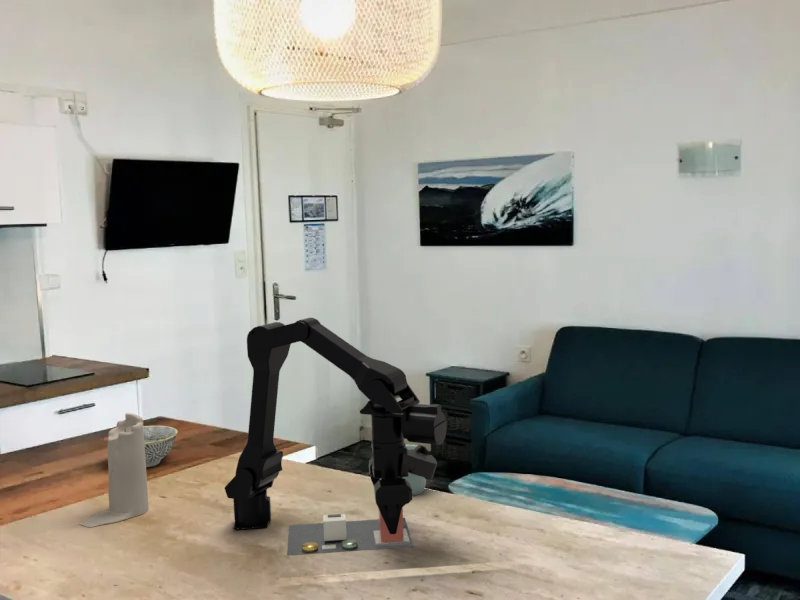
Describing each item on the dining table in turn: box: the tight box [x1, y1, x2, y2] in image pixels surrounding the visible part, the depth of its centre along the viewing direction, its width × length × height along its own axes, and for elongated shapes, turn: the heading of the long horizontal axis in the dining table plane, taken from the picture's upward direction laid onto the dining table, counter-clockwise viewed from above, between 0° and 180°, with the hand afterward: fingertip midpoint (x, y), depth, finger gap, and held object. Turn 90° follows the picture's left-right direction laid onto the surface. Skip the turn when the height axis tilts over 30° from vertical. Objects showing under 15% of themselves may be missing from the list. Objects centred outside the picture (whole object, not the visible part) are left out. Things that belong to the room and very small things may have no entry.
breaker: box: [322, 513, 347, 541], centre depth 150 cm, size 4×3×4 cm
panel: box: [286, 517, 414, 557], centre depth 152 cm, size 22×14×2 cm, turn 96°
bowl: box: [143, 425, 178, 468], centre depth 204 cm, size 16×16×8 cm
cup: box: [402, 444, 427, 496], centre depth 175 cm, size 8×8×10 cm
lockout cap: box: [378, 506, 404, 541], centre depth 149 cm, size 4×4×6 cm
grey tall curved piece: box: [79, 412, 149, 528], centre depth 167 cm, size 7×14×20 cm, turn 137°
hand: (390, 524), depth 149 cm, fingers open, 9 cm apart
